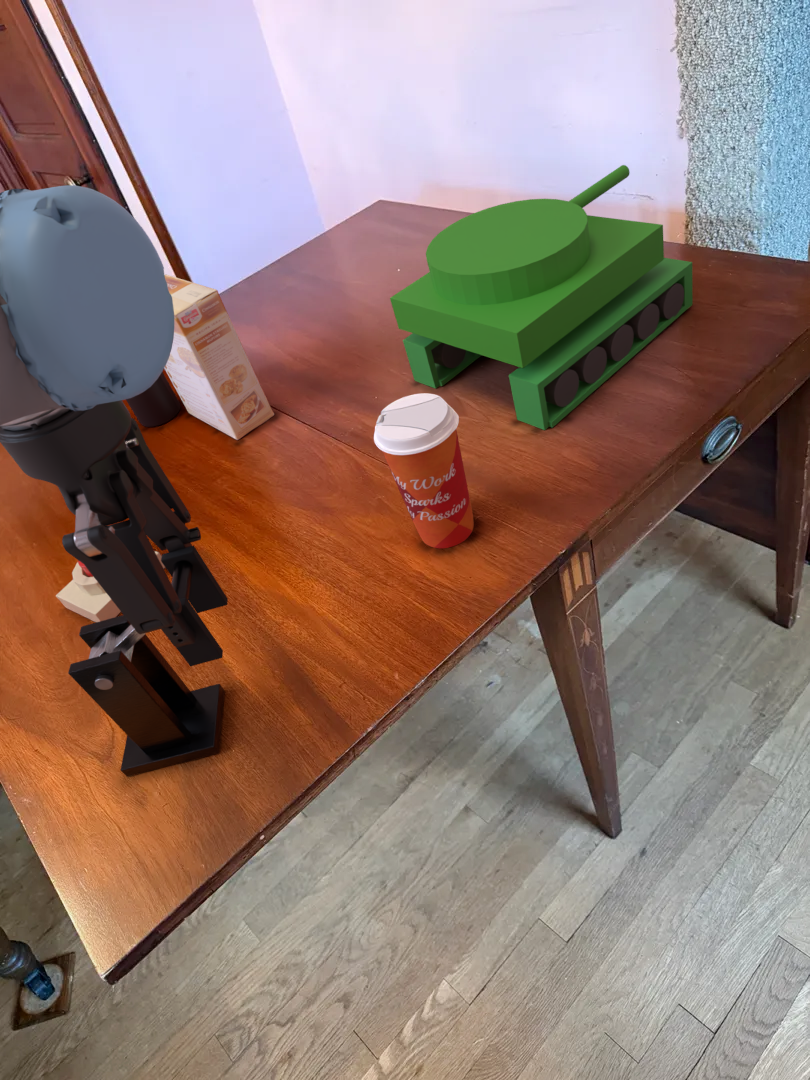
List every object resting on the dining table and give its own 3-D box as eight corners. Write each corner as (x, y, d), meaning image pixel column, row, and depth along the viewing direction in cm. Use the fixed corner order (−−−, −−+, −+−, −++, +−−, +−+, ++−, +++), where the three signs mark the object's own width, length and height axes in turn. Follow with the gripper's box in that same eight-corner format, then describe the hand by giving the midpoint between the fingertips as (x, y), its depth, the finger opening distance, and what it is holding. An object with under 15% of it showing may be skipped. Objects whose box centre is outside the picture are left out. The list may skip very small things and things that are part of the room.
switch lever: (201, 568, 60) (175, 554, 59) (195, 614, 56) (167, 600, 55) (119, 646, 65) (94, 635, 64) (109, 693, 61) (82, 682, 60)
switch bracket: (224, 690, 72) (156, 597, 63) (219, 753, 67) (143, 662, 58) (138, 712, 73) (58, 624, 64) (126, 777, 68) (37, 690, 59)
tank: (719, 289, 100) (722, 162, 89) (547, 431, 87) (526, 305, 77) (575, 263, 116) (562, 153, 105) (413, 380, 104) (380, 269, 93)
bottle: (132, 427, 116) (59, 310, 102) (158, 401, 120) (91, 285, 106) (163, 429, 112) (92, 309, 99) (190, 402, 116) (124, 283, 103)
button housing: (105, 627, 83) (86, 604, 81) (65, 607, 88) (46, 585, 85) (167, 565, 88) (151, 541, 86) (127, 549, 93) (110, 526, 90)
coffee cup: (402, 557, 79) (359, 445, 69) (418, 504, 84) (381, 393, 74) (479, 555, 76) (446, 439, 66) (491, 500, 81) (462, 385, 71)
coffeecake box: (276, 414, 107) (218, 288, 94) (237, 442, 104) (172, 316, 91) (224, 389, 117) (165, 271, 104) (187, 413, 114) (122, 296, 101)
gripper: (69, 465, 39) (247, 711, 54) (127, 314, 52) (256, 545, 68) (-61, 504, 40) (151, 736, 55) (29, 345, 53) (179, 567, 68)
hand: (209, 630), depth 61 cm, fingers closed on switch lever, 5 cm apart
